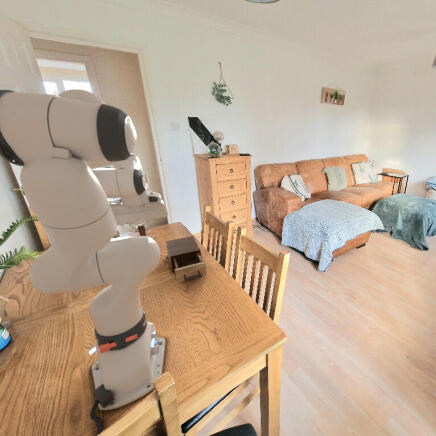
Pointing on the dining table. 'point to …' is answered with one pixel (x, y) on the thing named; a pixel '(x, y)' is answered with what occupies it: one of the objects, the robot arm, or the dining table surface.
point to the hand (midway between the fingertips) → (142, 230)
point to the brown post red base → (141, 230)
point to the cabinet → (181, 248)
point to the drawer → (188, 267)
